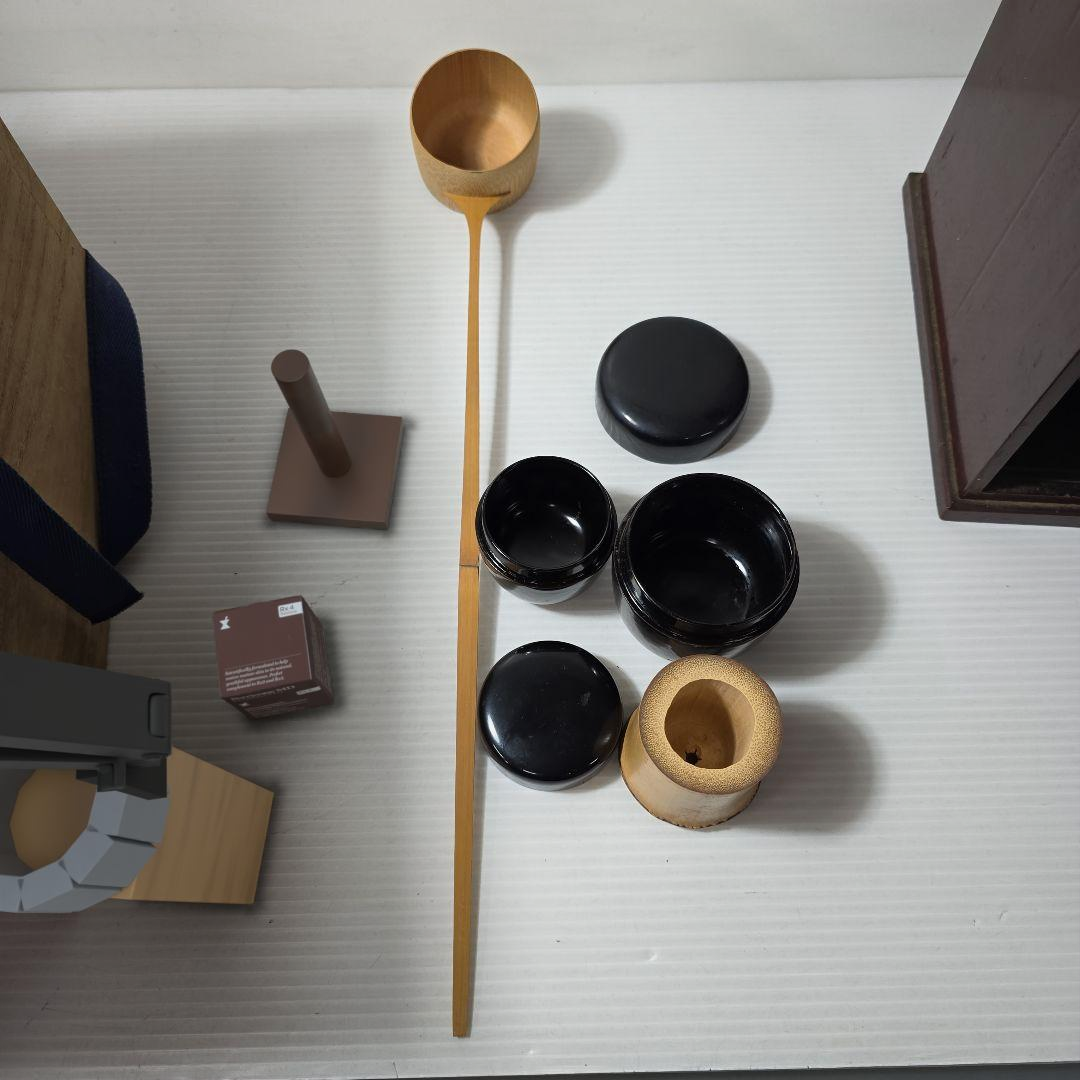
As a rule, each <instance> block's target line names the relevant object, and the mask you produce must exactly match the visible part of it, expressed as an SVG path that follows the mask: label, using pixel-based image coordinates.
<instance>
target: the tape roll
mask: <svg viewBox="0 0 1080 1080" xmlns="http://www.w3.org/2000/svg"><path fill="white" fill-rule="evenodd" d="M36 770H37V769H0V912H3V913H4V912H5V913H16V914H72V913H73V912H82V911H83V910H87V909H88V908H90V907H93V906H94V905H96V904H99V903H101V902H103V901H105V900H107V899H111V898H110V897H112V896H114V895H116V894H118V893H120V892H122V889H121V887H128V886H129V885H130V883H131V882H132V881H133V880H134V878H135V877H136V876H137V875H138V874H139V872H140V871H141V870H142V869H143V867H144V866H145V865H146V864H147V862H148V861H149V860H150V859H151V857H152V856H153V855H154V854H155V853H156V851H157V850H158V849H157V848H156V847H155V846H154V845H153V844H151V843H156V844H161V841H162V837H163V832H164V828H165V823H166V819H167V814H168V810H169V806H170V801H171V799H170V798H168V797H167V798H160V799H153V800H146V799H142V798H139V797H136V796H132V795H129V794H125V793H122V792H118V791H109V792H97V790H96V794H95V798H94V802H93V805H92V809H91V813H90V817H89V821H88V825H87V828H86V829H85V830H84V831H83V833H82V834H81V835H80V836H79V837H78V839H77V840H76V841H75V842H74V843H73V844H72V846H71V847H70V848H69V849H68V850H67V852H66V853H65V854H64V855H63V856H62V858H61V859H60V860H58V861H55V862H53V863H51V864H49V865H47V866H44V867H42V868H40V869H38V870H35V871H33V870H32V869H31V868H30V867H29V866H28V865H26V864H25V863H24V862H23V861H22V860H21V859H19V858H18V857H17V853H16V849H15V845H14V841H13V837H12V833H11V829H10V825H9V823H10V820H11V816H12V813H13V809H14V806H15V802H16V799H17V795H18V792H19V789H20V788H21V787H22V786H23V784H24V783H25V782H26V781H27V780H28V779H29V778H30V776H31V775H32V774H33V773H34V772H35V771H36ZM96 787H97V785H96ZM170 793H171V792H170V788H169V785H168V782H167V795H168V794H170Z"/></svg>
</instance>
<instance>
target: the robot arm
mask: <svg viewBox="0 0 1080 1080" xmlns="http://www.w3.org/2000/svg"><path fill="white" fill-rule="evenodd" d="M172 687H173V683H172V682H171V681H168V680H163V679H160V678H153V677H147V676H141V675H137V674H136V675H135V674H130V673H124V672H119V671H114V670H109V669H103V668H96V667H91V666H86V665H81V664H76V663H71V662H64V661H59V660H53V659H47V658H42V657H38V656H37V657H36V656H31V655H25V654H20V653H14V652H9V651H3V650H0V769H68V770H76V779H77V780H80V781H84V782H87V783H91V784H94V785H97V792H109V791H118V792H122V793H125V794H129V795H132V796H136V797H139V798H142V799H146V800H153V799H160V798H167V757H168V756H170V755H171V754H172V747H173V688H172Z"/></svg>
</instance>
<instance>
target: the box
mask: <svg viewBox="0 0 1080 1080" xmlns="http://www.w3.org/2000/svg"><path fill="white" fill-rule="evenodd" d="M211 618H212V627H213V636H214V637H213V638H214V646H215V647H214V648H215V657H216V667H217V676H218V677H217V678H218V686H219V687H218V688H219V697H220V699H222V700H224V701H225V702H226V703H228V704H229V705H231V706H232V707H233V708H235V709H236V710H237V711H239V712H240V713H242V714H243V715H245V716H246V717H247V718H248V719H250V720H259V719H266V718H269V717H270V718H271V717H274V716H280V715H281V716H282V715H285V714H291V713H296V712H300V711H304V710H308V709H314V708H318V707H322V706H327V705H331V704H333V703H334V693H333V685H332V681H331V680H332V679H331V673H330V666H329V660H328V653H327V645H326V637H325V632H324V631H325V630H324V627H323V626H324V625H323V624H322V622H321V620H320V619H319V618H318V617H317V615H316V614H315V613H314V611H313V610H312V608H311V607H310V605H309V603H308V601H306V600H305V597H304V596H303V595H302V594H296V595H290V596H285V597H281V598H275V599H271V600H266V601H265V600H264V601H255V602H252V603H248V604H245V605H241V606H236V607H230V608H225V609H220V610H215V611H214V612H212V613H211Z"/></svg>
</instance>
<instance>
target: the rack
mask: <svg viewBox="0 0 1080 1080" xmlns="http://www.w3.org/2000/svg"><path fill="white" fill-rule="evenodd" d="M270 372H271V374H272V376H273V378H274V380H275V382H276V384H277V386H278V388H279V390H280V392H281V394H282V395H283V397H284V399H285V402H286V404H287V405H288V408H287V411H286V417H285V422H284V425H283V426H284V427H283V432H282V436H281V441H280V444H279V445H280V446H279V451H278V454H277V459H276V465H275V469H274V474H273V479H272V484H271V488H270V492H269V498H268V502H267V507H266V511H265V513H266V514H267V516H268V518H269V519H270V520H271V521H272V522H273V521H274V522H288V523H299V524H310V525H322V526H323V525H324V526H336V527H349V528H360V529H371V530H373V529H374V530H385V531H388V530H389V526H390V525H389V524H390V519H391V512H392V508H393V507H392V506H393V500H394V493H395V489H396V488H395V487H396V481H397V474H398V468H399V462H400V457H401V450H402V444H403V436H404V431H405V423H404V419H403V417H402V416H399V415H398V416H397V415H386V414H371V413H359V412H358V413H357V412H348V411H347V412H345V411H333V410H330V407H329V405H328V403H327V400H326V397H325V395H324V393H323V390H322V388H321V385H320V383H319V381H318V379H317V376H316V374H315V371H314V369H313V367H312V364H311V362H310V360H309V357H308V356H307V355H306V354H305V353H304V352H303V351H300V350H299V349H293V348H291V349H290V348H289V349H285V350H283V351H280V352H279V353H277V354H276V356H275V357H273V359H272V361H271V365H270Z"/></svg>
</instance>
